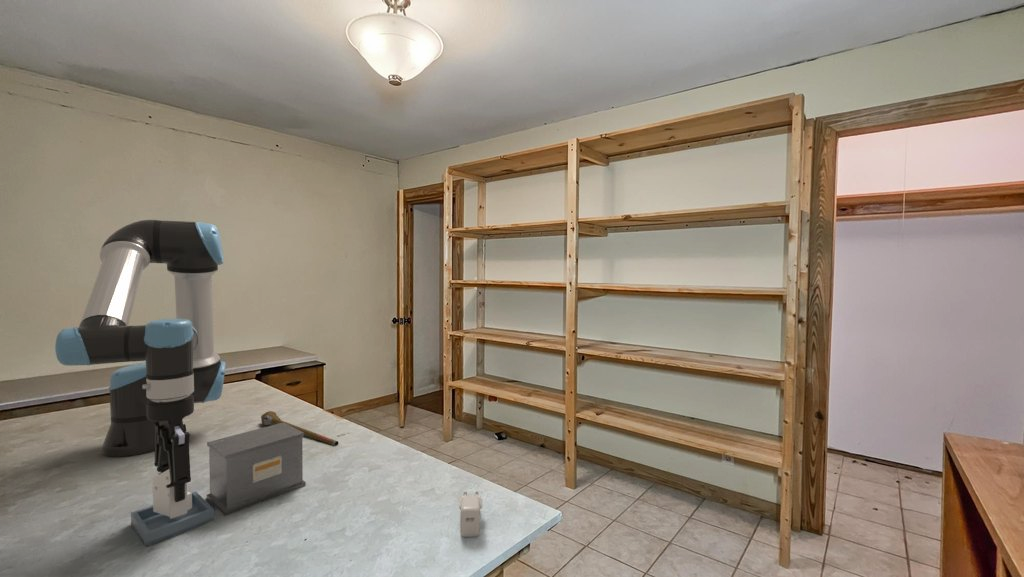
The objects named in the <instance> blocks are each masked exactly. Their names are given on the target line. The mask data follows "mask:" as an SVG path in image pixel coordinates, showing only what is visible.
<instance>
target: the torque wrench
mask: <svg viewBox="0 0 1024 577" xmlns="http://www.w3.org/2000/svg"><path fill="white" fill-rule="evenodd" d="M260 418H261V423H262V424H263V426H264V427H268V426H272V425H275V424H279V423H283V422H284V423H286V424H288V425H290V426H292V427H294V428H296V429H298V430H300V431H302V432H303V433H304V436H307V437H310V438H312V439H315V440H317V441H320V442H322V443H325V444H328V445H331V446H333V447H335V444H336V446H338V445H339V440H335V439H332V438H330V437H328V436H325V435H321V434H319V433H316V432H314V431H311V430H308V429H305V428H303V427H300V426H298V425H295V424H293V423H290V422H287V421H284V420H282V419H281V418H280V417H279V416H278V415H277V413H276V412H275V411H271V410H270V411H269V410H268V411H267V412H265V413H263V414H261V416H260Z"/></svg>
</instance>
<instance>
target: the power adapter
mask: <svg viewBox="0 0 1024 577" xmlns="http://www.w3.org/2000/svg"><path fill="white" fill-rule="evenodd" d="M458 503H459V504H458V509H459V510H460V515H459V516H460V517H459V518H460V519H459V520H460V521H459V522H460V524H459V525H460V526H459V527H460V528H459V529H460V531H459V533H460V536H461V537H463V538H475V537H476V538H477V537H478V536H479V535H480V528H481V509H482V508H483V498H482V497H481V496H480V495H479V491H475V495H468V493H467V491H464V492H463V495H462V496H461V497H460V498H459V502H458Z"/></svg>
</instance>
